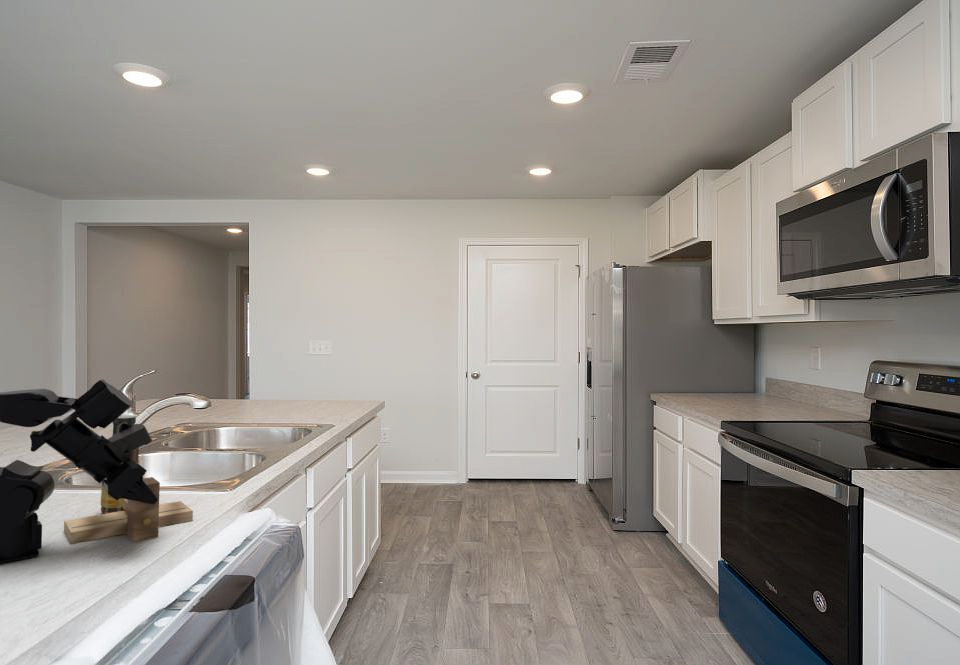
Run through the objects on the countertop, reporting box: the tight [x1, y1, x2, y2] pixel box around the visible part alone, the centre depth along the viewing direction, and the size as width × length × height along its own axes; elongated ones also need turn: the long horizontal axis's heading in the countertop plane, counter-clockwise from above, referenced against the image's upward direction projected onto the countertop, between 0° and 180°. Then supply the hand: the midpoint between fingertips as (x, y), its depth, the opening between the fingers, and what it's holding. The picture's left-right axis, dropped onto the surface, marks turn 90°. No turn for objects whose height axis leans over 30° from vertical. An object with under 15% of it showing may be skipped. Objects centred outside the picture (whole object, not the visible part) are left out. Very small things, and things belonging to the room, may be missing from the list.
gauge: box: [123, 476, 161, 543], centre depth 109 cm, size 4×15×10 cm, turn 43°
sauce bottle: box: [100, 414, 140, 514], centre depth 118 cm, size 6×6×20 cm
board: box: [63, 500, 194, 545], centre depth 110 cm, size 20×8×2 cm, turn 133°
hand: (151, 498), depth 106 cm, fingers open, 5 cm apart
